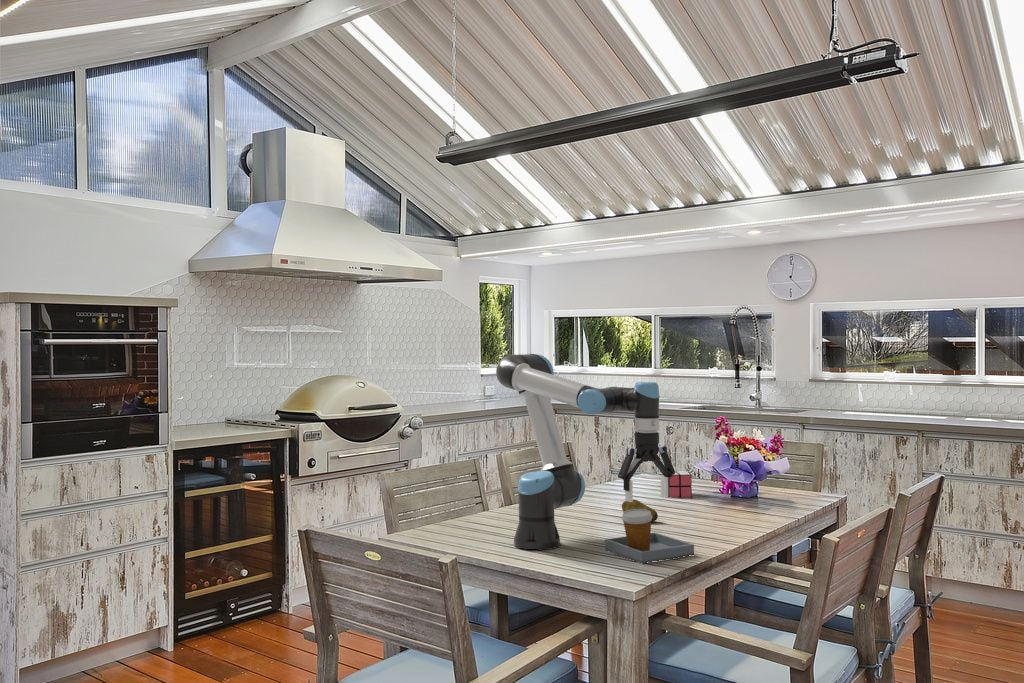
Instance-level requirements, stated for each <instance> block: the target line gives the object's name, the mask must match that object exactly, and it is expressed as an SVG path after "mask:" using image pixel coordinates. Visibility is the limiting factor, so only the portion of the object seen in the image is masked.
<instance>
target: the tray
mask: <svg viewBox="0 0 1024 683" xmlns="http://www.w3.org/2000/svg"><path fill="white" fill-rule="evenodd" d="M605 550H606V552H608V551H609V552H608V553H611V554H613V553H614V555H616V554H617V556H619V557H621V556H622V558H624V557H625V558H624V559H627V558H628V559H627V560H629V559H631V560H630V561H632V560H634V561H633V562H635V561H637V562H640V563H647V562H652V561H659V560H666V559H672V560H674V559H673V558H678V557H683V556H689V555H694V556H695V544H693V543H691V542H687V541H684V540H681V539H677V538H675V537H672V536H668V535H665V534H663V533H659V532H655V531H654V532H651V535H650V550H649V551H639V550H637V549H634V548H631V547H628V543H627V537H626V535H625V536H619V537H612V538H605V539H604V551H605ZM678 559H679V558H678ZM666 561H667V560H666ZM637 562H636V563H637ZM659 562H660V561H659ZM640 563H639V564H640ZM647 564H648V563H647Z"/></svg>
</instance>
